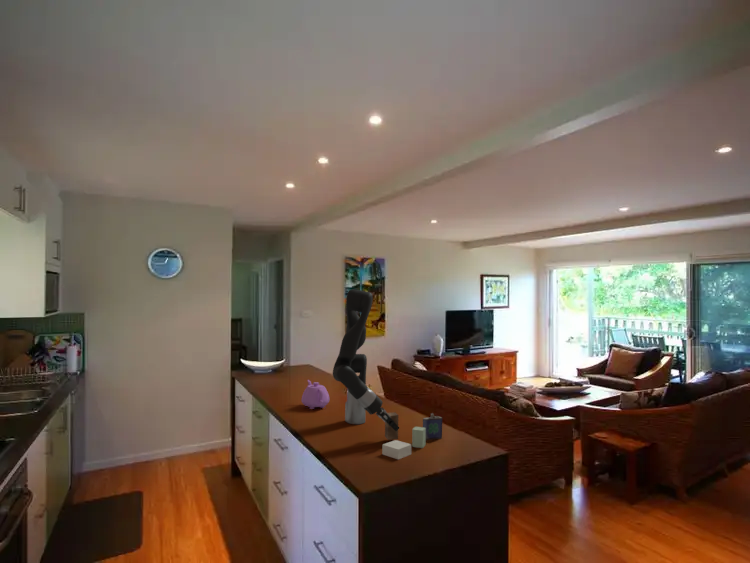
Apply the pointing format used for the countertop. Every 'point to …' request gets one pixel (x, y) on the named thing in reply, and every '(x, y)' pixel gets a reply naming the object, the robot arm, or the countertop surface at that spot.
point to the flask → (433, 427)
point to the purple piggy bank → (315, 395)
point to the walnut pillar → (389, 431)
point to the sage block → (418, 437)
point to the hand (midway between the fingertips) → (395, 427)
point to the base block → (396, 449)
